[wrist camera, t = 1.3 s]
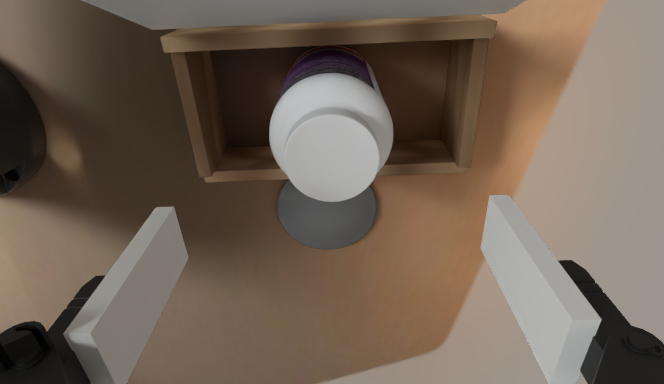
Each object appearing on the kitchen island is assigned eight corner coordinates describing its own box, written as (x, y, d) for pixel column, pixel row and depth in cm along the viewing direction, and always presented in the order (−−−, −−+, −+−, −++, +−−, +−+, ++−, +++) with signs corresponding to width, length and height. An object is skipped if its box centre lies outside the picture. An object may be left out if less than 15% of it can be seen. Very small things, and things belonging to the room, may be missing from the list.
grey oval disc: (283, 247, 44) (282, 250, 43) (272, 164, 39) (271, 167, 38) (375, 244, 44) (375, 247, 43) (376, 161, 39) (376, 163, 38)
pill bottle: (266, 86, 35) (228, 155, 23) (335, 20, 32) (336, 57, 20) (327, 150, 38) (325, 242, 26) (396, 94, 35) (429, 167, 23)
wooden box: (219, 157, 39) (198, 194, 32) (192, 22, 33) (160, 36, 26) (450, 148, 38) (472, 184, 32) (466, 9, 32) (496, 21, 26)
